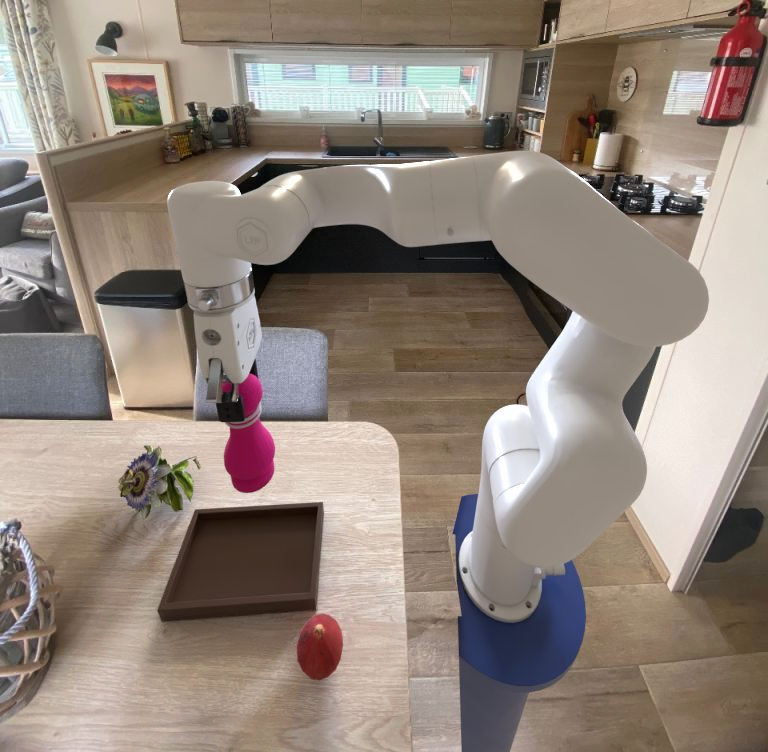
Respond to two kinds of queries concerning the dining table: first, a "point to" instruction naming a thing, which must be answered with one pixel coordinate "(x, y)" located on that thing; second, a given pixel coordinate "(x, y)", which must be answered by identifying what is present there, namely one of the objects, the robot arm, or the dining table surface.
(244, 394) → the pepper mill
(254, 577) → the tray
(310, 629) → the onion
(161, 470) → the passion flower
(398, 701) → the dining table surface
